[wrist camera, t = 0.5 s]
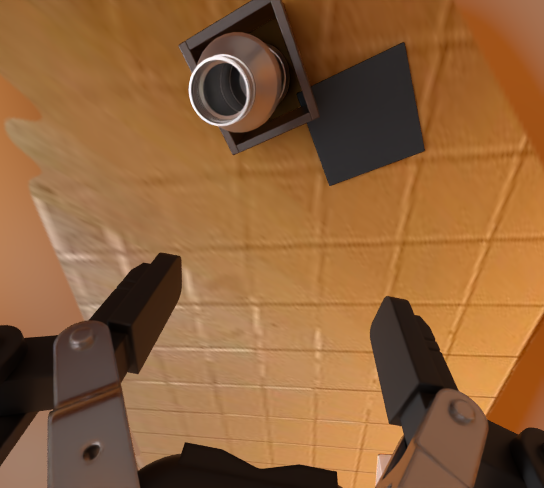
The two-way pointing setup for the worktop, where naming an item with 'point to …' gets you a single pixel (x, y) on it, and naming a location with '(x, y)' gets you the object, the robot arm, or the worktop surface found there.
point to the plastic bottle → (238, 82)
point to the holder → (263, 10)
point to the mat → (366, 116)
